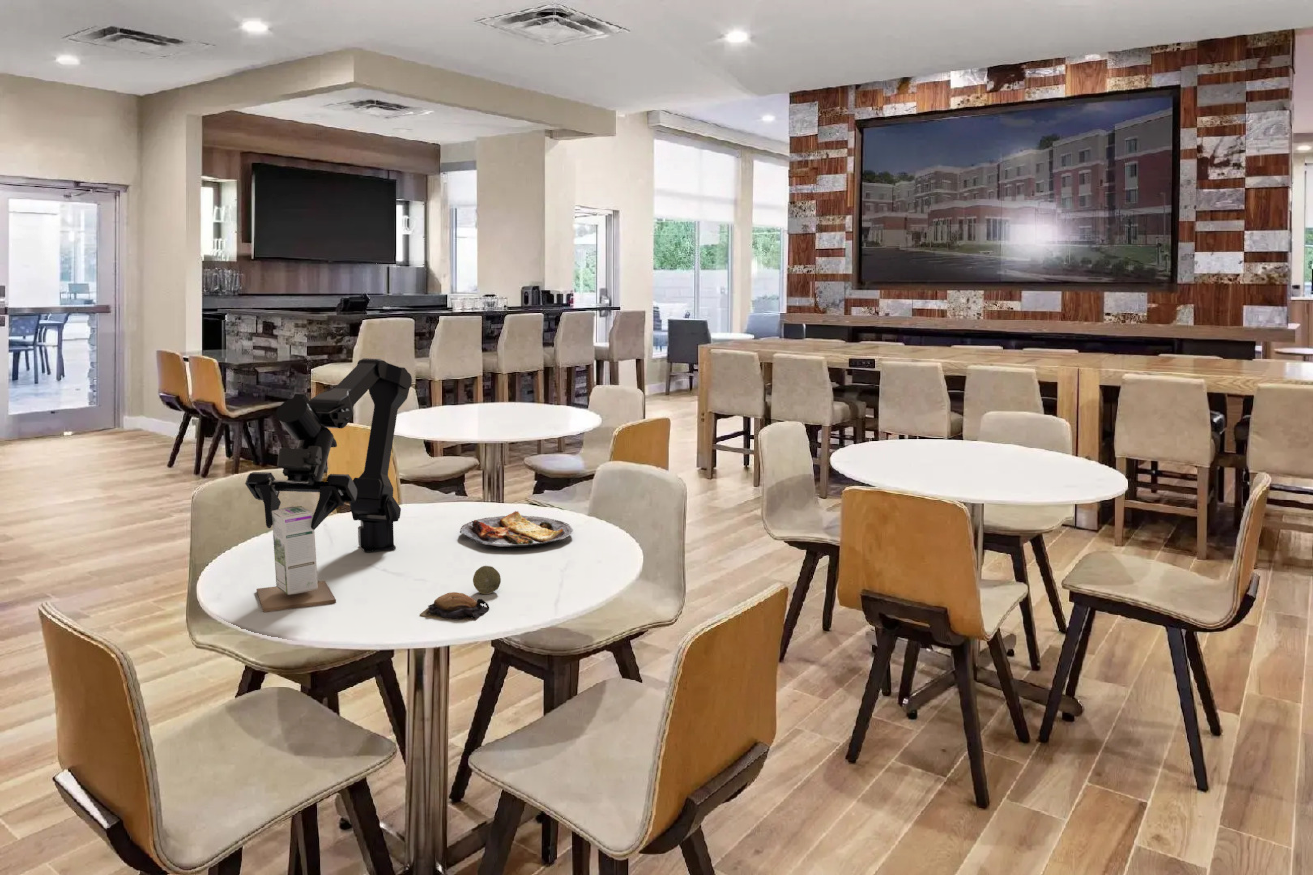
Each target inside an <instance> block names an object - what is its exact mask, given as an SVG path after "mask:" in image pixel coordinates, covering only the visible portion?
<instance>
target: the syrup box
mask: <svg viewBox="0 0 1313 875" xmlns="http://www.w3.org/2000/svg"><path fill="white" fill-rule="evenodd" d="M313 515H314V512H313V511H311V510H309V509H307V508H305V507H303V506H299V505H297V506H290V507H283V508H279V509H278V510H274V511H272V537H273V538H272V540H273V549H274V550H273V551H274V552H273V553H274V569H275V583H276V584H275V585H276V586H277V588H279V589H280V590H282V591H283V592H285V593H286V594H288V595H290V594H297V593H302V592H307V591H311V590H315V589H318V565H317V551H316V549H317V548H316V536H315V535H316V534H315V530H313V529H312V528H311V523H312V518H313Z"/></svg>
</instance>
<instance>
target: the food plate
mask: <svg viewBox="0 0 1313 875" xmlns="http://www.w3.org/2000/svg"><path fill="white" fill-rule="evenodd" d="M459 533H460V534H461V535H463V536H465V537H467V538H469V539H470V540H473V541H475V543H476V544H482V545H486V546H492V547H493V546H495V547H501V548H503V547H505V548H525V547H533V546H537V545H544V544H548V543H553V542H555V541H559V540H564V539H566V538H567V537H569V536H571V535H572V534H573V533H574V529H573V527H572V525H570V524H568V523H566V522H564V521H561V520H557V519H554V518H549V517H543V516H534V515H528V516H527V515H522V514H521V513H520V512H519V511H516V510H515V511H513V512H512V513H508V514H507V515H501V516H494V517H484V518H478V519H473V520H471V521H469V522H467V523H464V524H462V525H461V527H460V529H459Z"/></svg>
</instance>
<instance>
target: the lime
mask: <svg viewBox="0 0 1313 875" xmlns="http://www.w3.org/2000/svg"><path fill="white" fill-rule="evenodd" d="M501 581H502V579H501V574H500V573H499V571H498V570H497V569H496V568H495V567H494V566H491V565H483V566H481V567H479V568H478V569H476V571H475V572H474V575H473V577H472V582H473V583H472V584H473V586H474V587H475V590H476V591H478V593H480V594H482V595H490V594H492V593H494V592H496V591H498V589H499V587H500V585H501Z"/></svg>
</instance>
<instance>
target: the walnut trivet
mask: <svg viewBox="0 0 1313 875" xmlns="http://www.w3.org/2000/svg"><path fill="white" fill-rule="evenodd" d="M317 582H318V589H315V590H311V591H307V592H302V593H297V594H290V595H288V594H286V593H285V592H283V591H282V590H280V589H279V588H277V585H276V586H269V587H260V588H259V587H258V588H256V594H257V596H258V601H259V602H260V605H261V608H262V612H263V613H266V612H273V611H274V612H275V611H276V612H277V611H283V610H290V609H297V608H304V607H305V608H306V607H313V606H319V605H321V606H322V605H329V604H336V603H337V599H336V597H335V595H334V594H333V592H332V590H331V589H330V586H329V584H328V583H327V582H326V580H319V581H318V580H317Z"/></svg>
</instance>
